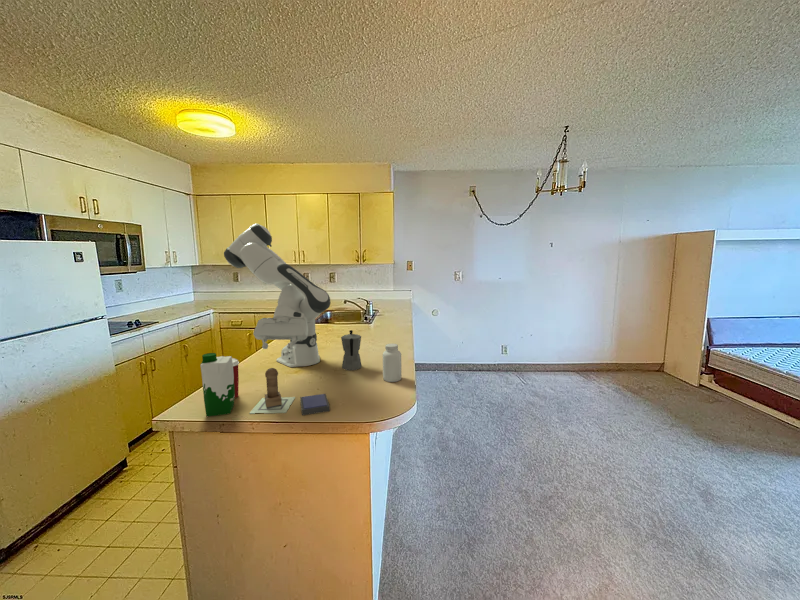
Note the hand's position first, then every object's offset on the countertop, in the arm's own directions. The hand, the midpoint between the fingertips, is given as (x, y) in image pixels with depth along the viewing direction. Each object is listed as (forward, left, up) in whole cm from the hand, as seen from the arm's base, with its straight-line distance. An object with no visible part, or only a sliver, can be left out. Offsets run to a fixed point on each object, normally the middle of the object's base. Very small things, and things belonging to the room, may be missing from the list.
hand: (277, 348), depth 125 cm
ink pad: (+20, -1, -18) cm, 27 cm away
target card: (+7, -8, -18) cm, 21 cm away
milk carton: (-5, -20, -18) cm, 27 cm away
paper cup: (-13, -12, -18) cm, 25 cm away
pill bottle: (+29, +35, -18) cm, 49 cm away
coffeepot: (+5, +37, -18) cm, 41 cm away
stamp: (+7, -8, -17) cm, 21 cm away
